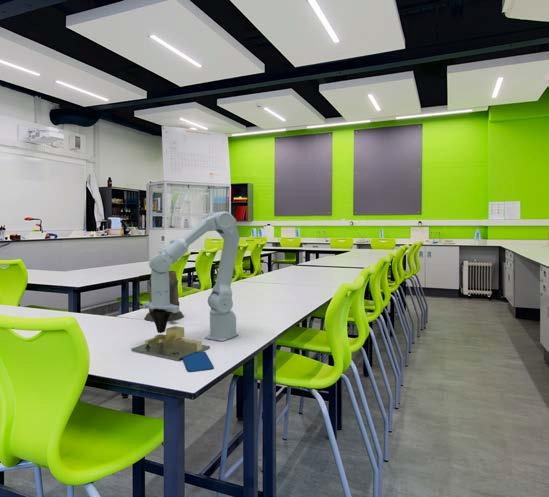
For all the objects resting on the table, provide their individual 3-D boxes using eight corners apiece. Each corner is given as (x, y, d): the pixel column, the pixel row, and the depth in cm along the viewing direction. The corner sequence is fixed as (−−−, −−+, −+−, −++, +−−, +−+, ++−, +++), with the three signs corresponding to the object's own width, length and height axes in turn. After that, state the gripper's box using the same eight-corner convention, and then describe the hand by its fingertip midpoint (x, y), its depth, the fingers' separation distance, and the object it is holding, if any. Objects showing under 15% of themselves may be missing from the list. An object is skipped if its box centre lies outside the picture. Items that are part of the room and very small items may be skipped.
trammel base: (164, 340, 138) (164, 330, 138) (209, 348, 128) (209, 338, 128) (131, 350, 126) (131, 340, 126) (178, 361, 116) (178, 350, 116)
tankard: (139, 316, 176) (138, 270, 175) (177, 311, 185) (176, 268, 184) (153, 327, 156) (152, 276, 155) (194, 322, 165) (194, 273, 163)
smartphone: (187, 371, 107) (180, 353, 121) (187, 374, 107) (180, 356, 121) (214, 368, 109) (205, 351, 123) (214, 371, 109) (205, 354, 123)
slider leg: (175, 342, 131) (174, 326, 131) (184, 344, 129) (184, 327, 129) (155, 349, 124) (155, 331, 124) (165, 351, 122) (164, 333, 122)
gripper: (135, 291, 131) (136, 332, 132) (167, 294, 124) (168, 338, 124) (151, 288, 137) (152, 327, 138) (183, 291, 130) (184, 332, 131)
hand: (161, 332), depth 132 cm, fingers closed
